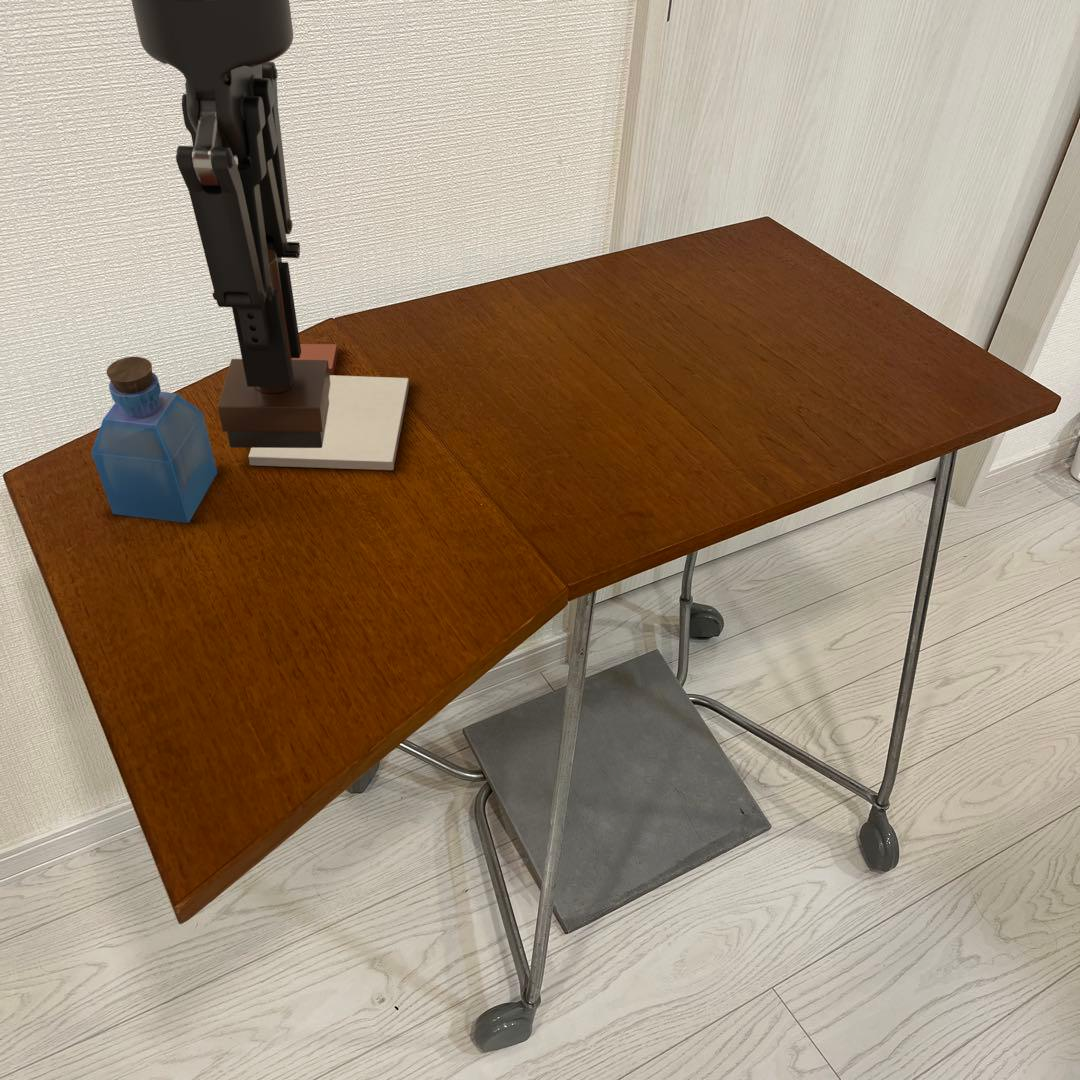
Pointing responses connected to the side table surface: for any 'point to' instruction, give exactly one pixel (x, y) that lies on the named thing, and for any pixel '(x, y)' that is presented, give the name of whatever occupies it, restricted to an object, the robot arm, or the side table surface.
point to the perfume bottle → (152, 447)
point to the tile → (351, 427)
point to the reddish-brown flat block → (320, 354)
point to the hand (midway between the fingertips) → (274, 368)
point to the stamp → (276, 400)
